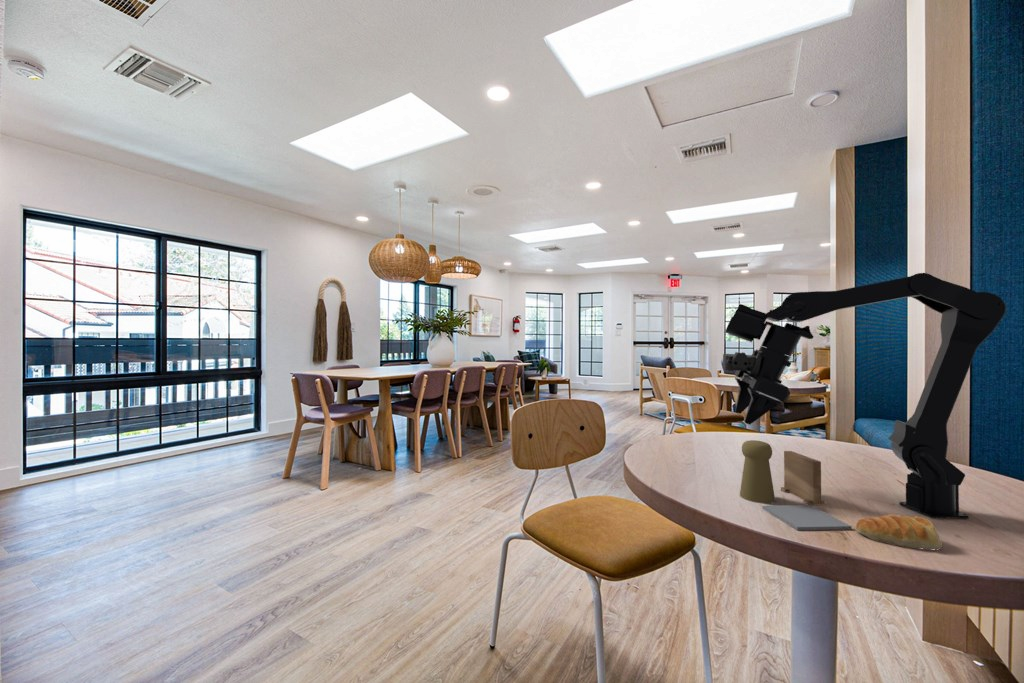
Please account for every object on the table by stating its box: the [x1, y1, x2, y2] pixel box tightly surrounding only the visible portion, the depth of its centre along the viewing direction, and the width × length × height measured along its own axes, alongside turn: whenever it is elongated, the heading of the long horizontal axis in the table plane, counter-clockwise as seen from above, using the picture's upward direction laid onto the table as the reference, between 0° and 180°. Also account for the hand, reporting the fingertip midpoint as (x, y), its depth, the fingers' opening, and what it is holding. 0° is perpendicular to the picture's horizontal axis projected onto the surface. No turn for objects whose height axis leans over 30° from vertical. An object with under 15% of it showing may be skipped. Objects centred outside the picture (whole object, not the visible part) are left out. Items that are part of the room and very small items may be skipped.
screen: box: [780, 450, 826, 506], centre depth 82 cm, size 3×8×8 cm, turn 2°
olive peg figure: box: [739, 440, 776, 504], centre depth 82 cm, size 6×6×11 cm
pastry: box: [855, 513, 943, 551], centre depth 65 cm, size 9×7×4 cm
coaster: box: [761, 504, 853, 531], centre depth 72 cm, size 9×9×1 cm
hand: (742, 417), depth 90 cm, fingers open, 9 cm apart
